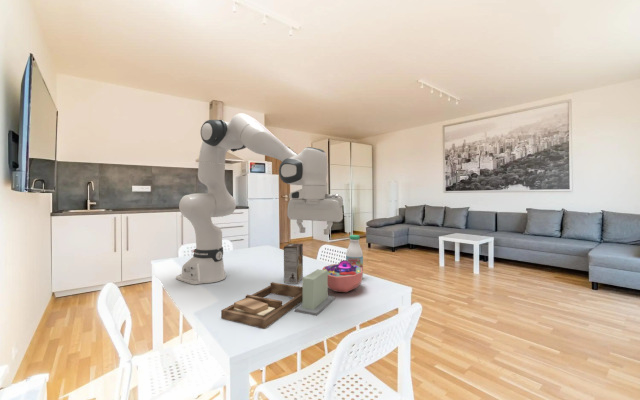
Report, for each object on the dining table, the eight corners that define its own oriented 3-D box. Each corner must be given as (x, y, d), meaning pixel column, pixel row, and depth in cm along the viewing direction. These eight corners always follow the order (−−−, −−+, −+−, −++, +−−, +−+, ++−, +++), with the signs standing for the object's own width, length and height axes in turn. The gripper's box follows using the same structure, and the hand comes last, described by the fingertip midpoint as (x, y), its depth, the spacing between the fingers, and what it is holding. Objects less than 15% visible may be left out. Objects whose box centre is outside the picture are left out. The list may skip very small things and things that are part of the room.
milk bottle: (344, 276, 134) (344, 234, 133) (360, 276, 134) (361, 234, 134) (347, 281, 126) (347, 236, 125) (364, 281, 127) (364, 236, 126)
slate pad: (294, 311, 94) (294, 309, 94) (315, 295, 108) (315, 293, 108) (316, 315, 90) (316, 313, 90) (334, 298, 105) (334, 296, 105)
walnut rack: (221, 318, 88) (221, 305, 88) (269, 291, 112) (269, 281, 112) (264, 328, 82) (264, 314, 82) (306, 298, 106) (306, 287, 105)
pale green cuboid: (302, 307, 95) (302, 278, 95) (317, 296, 106) (317, 269, 106) (313, 309, 93) (313, 279, 93) (327, 297, 104) (327, 270, 104)
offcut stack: (229, 317, 90) (229, 303, 90) (245, 309, 96) (245, 296, 96) (261, 326, 84) (261, 311, 84) (276, 317, 90) (276, 303, 90)
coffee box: (289, 277, 132) (289, 242, 132) (303, 278, 131) (303, 243, 131) (283, 283, 123) (283, 246, 123) (297, 284, 122) (297, 247, 122)
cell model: (312, 293, 111) (312, 264, 110) (333, 280, 128) (334, 255, 128) (353, 301, 103) (353, 270, 102) (370, 285, 120) (370, 259, 120)
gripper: (345, 194, 98) (345, 234, 98) (294, 193, 106) (293, 230, 107) (339, 194, 92) (338, 236, 92) (285, 193, 100) (284, 232, 101)
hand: (314, 233), depth 99 cm, fingers open, 8 cm apart
